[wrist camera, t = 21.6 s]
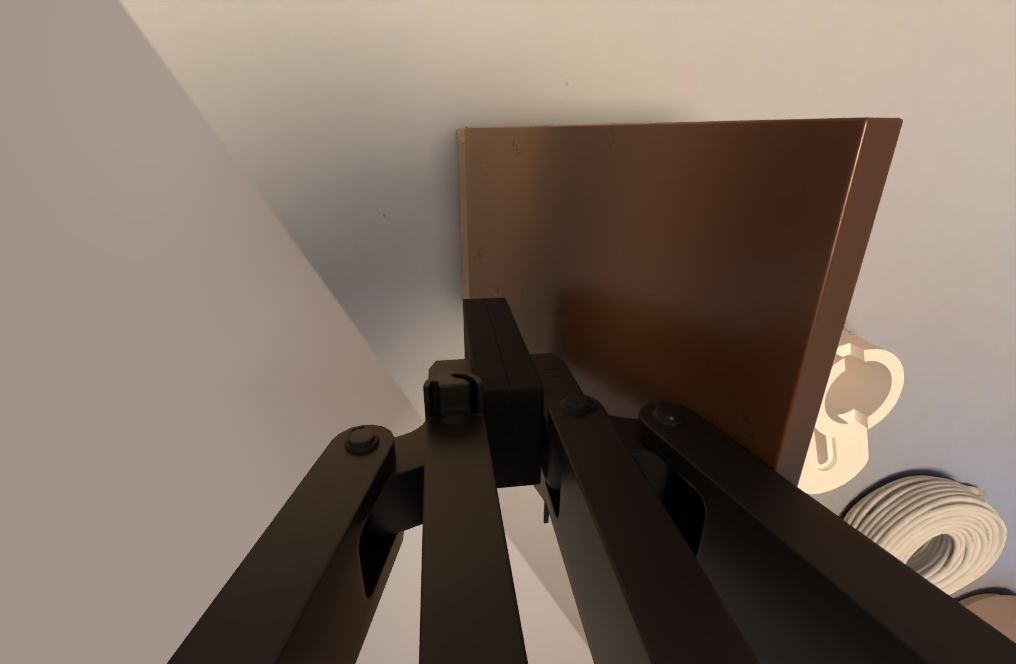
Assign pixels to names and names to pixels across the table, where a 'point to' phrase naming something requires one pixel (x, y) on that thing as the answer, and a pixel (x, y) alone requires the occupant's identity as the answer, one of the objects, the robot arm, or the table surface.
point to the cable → (933, 528)
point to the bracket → (850, 412)
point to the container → (995, 611)
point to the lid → (683, 260)
